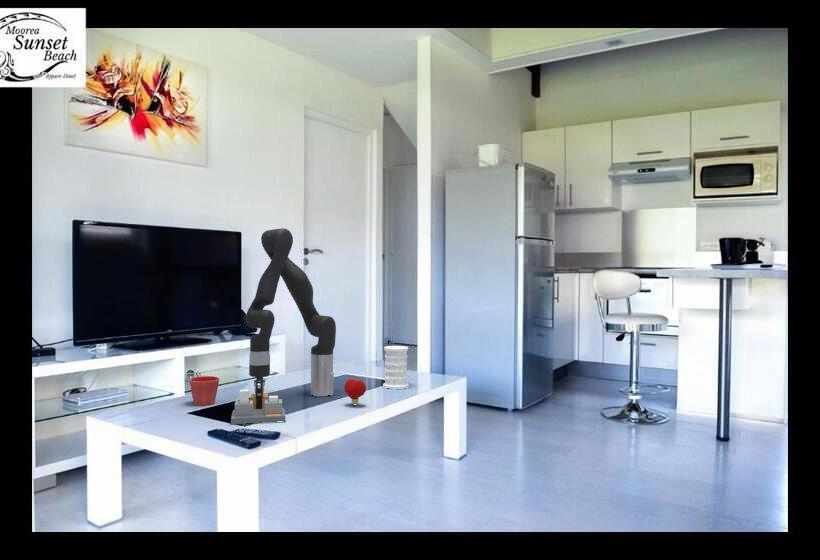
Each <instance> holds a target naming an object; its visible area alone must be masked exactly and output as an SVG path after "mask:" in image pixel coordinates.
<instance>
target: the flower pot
mask: <svg viewBox="0 0 820 560" xmlns="http://www.w3.org/2000/svg"><path fill="white" fill-rule="evenodd" d="M219 383H220V378H219V377H217V376H213V375H212V376H211V375H207V376H206V375H205V376H203V375H202V376H194V377H191V378H190V379H189V385H190V386H189V387H190V391H191V395H192V396H191V397H192V401H193V404H194V405H195V404H196V405H195V406H209V405H208V404H211V405H213V403H214V404H215V403H216V398H217V393H218V389H219Z"/></svg>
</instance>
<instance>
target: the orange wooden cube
mask: <svg viewBox="0 0 820 560" xmlns="http://www.w3.org/2000/svg"><path fill="white" fill-rule="evenodd" d="M257 396H261V394H257ZM255 397H256V394H255V393H251V394H250V400H253V409H256V399H255ZM265 400H269V395H268V392H267V393H264V394H263V400H262V409H265Z"/></svg>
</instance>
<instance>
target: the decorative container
mask: <svg viewBox="0 0 820 560" xmlns="http://www.w3.org/2000/svg"><path fill="white" fill-rule="evenodd" d="M383 350H384V351H385V355H384V358H385V361H384V366H385V367H384V375H385V376H384V381H385V382H384V383H383V384H382V387H383V386H384V387H387V388H406V387H408V386H409V383H408V382H407V381H408V375H407V372H408V369H407V366H408V361H407V359H408V354H407V352H408V351H409V347H408V346H404V345H386V346H384V347H383ZM408 388H409V387H408Z"/></svg>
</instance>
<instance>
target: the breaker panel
mask: <svg viewBox="0 0 820 560" xmlns="http://www.w3.org/2000/svg"><path fill="white" fill-rule="evenodd" d="M239 401H240V400H235V402H234V409H233V410H232V413H231V418H230V425H247V424H246V423H253V424H263V423H262V422H275V423H278V422H277V421H285V422H286V410H285V409H286V408H284V407H283V399H282V398H281V399H280V398H278V402H272V403H269V399H268V400H265V409H253V400H251V399H249V403H246V404H239Z"/></svg>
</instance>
